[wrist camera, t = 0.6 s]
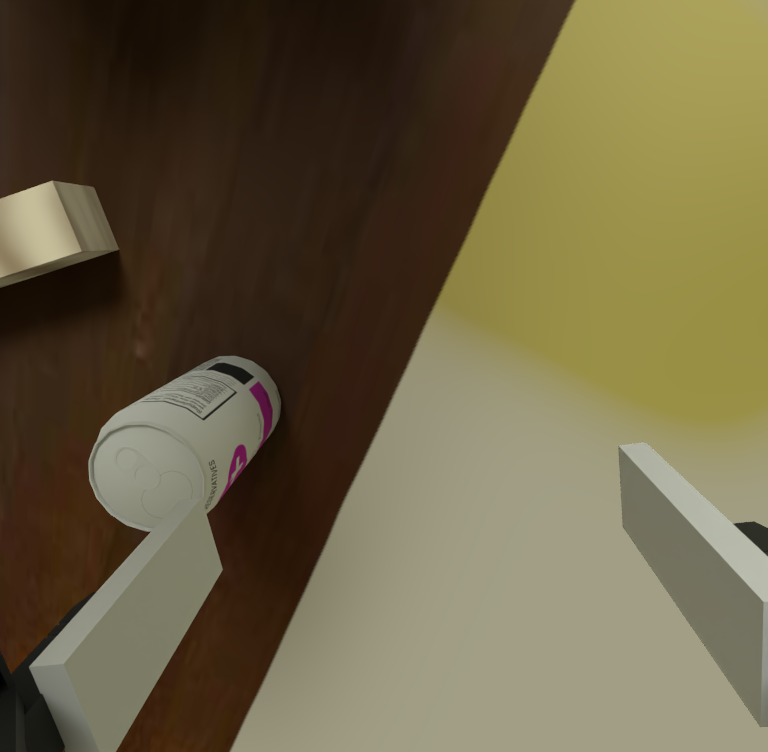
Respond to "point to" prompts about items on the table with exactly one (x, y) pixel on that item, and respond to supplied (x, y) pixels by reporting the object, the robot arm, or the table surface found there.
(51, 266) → the beam
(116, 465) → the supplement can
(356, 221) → the table surface
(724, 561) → the robot arm
